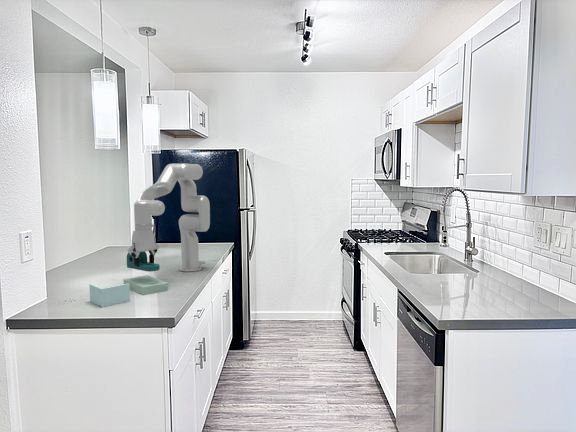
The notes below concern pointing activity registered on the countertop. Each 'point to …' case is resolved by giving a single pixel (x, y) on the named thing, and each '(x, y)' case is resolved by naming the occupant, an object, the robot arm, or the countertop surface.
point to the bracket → (141, 263)
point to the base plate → (146, 284)
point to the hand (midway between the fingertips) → (144, 264)
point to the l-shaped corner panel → (109, 294)
